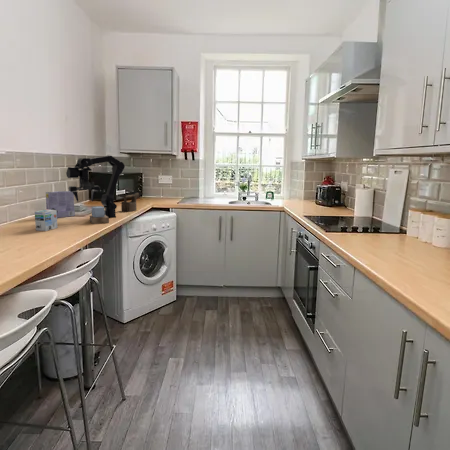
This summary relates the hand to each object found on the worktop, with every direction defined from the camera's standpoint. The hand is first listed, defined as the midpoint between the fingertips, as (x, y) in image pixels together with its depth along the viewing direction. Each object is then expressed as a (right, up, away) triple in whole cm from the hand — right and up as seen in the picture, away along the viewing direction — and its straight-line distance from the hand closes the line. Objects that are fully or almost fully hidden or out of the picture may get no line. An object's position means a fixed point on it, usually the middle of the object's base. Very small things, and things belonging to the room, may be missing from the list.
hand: (85, 201), depth 239 cm
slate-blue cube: (+11, -10, -6) cm, 15 cm away
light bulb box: (-10, -18, -30) cm, 37 cm away
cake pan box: (-20, -10, +10) cm, 25 cm away
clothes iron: (+18, -4, +47) cm, 51 cm away
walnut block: (+11, -14, -5) cm, 18 cm away
